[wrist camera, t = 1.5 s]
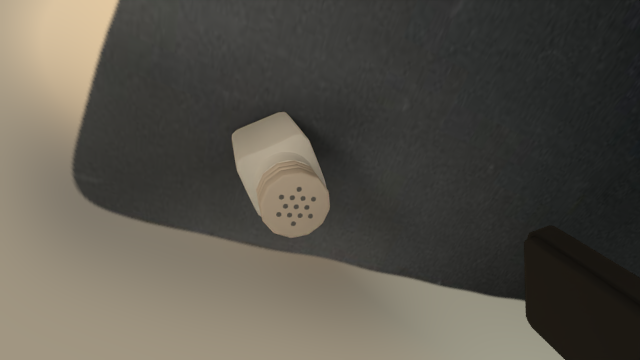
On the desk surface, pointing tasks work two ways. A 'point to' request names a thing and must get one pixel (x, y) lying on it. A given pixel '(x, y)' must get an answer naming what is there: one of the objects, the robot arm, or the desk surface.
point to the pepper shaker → (281, 175)
